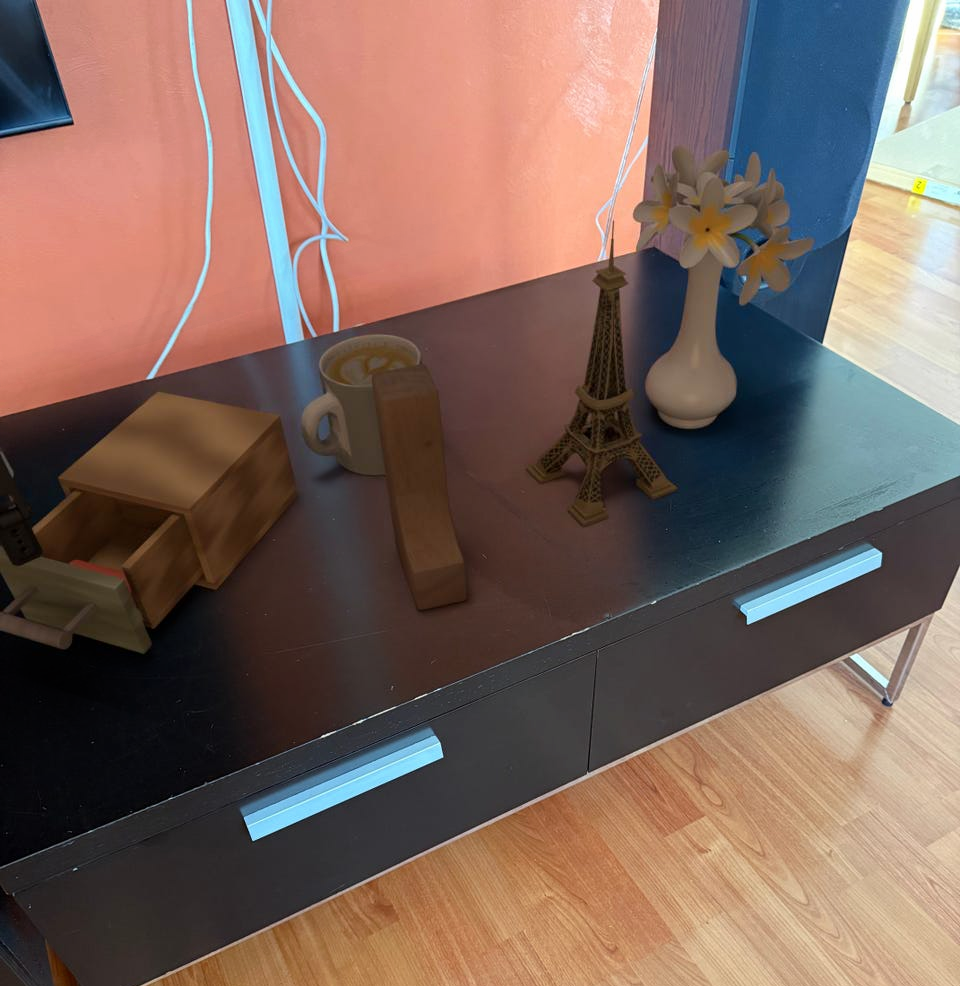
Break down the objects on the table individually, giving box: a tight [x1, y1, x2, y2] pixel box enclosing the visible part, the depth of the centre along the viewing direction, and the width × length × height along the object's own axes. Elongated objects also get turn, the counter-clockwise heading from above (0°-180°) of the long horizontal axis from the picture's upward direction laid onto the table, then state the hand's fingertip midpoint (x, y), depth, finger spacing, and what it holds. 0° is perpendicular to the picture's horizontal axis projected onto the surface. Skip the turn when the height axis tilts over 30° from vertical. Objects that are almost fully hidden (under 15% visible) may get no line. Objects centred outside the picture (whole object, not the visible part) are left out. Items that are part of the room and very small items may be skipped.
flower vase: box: [632, 144, 815, 430], centre depth 91 cm, size 13×18×25 cm
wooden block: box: [372, 363, 468, 611], centre depth 78 cm, size 9×4×18 cm, turn 16°
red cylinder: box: [69, 560, 137, 605], centre depth 81 cm, size 7×2×2 cm
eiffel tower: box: [525, 220, 678, 528], centre depth 84 cm, size 11×11×25 cm
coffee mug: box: [300, 333, 423, 476], centre depth 94 cm, size 13×10×10 cm
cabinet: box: [57, 391, 299, 591], centre depth 88 cm, size 15×14×9 cm
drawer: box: [0, 489, 204, 655], centre depth 80 cm, size 18×12×7 cm
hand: (8, 530), depth 70 cm, fingers open, 8 cm apart
